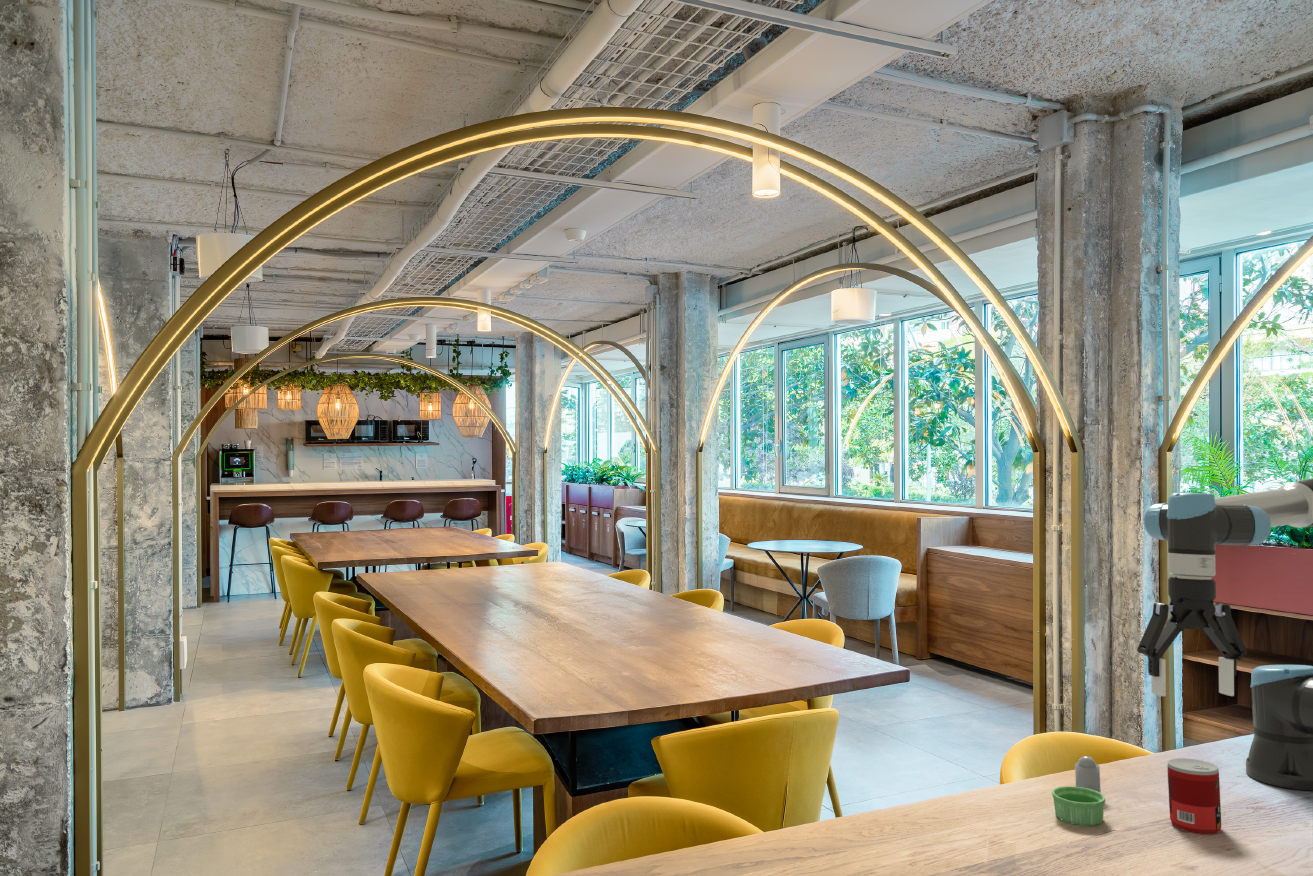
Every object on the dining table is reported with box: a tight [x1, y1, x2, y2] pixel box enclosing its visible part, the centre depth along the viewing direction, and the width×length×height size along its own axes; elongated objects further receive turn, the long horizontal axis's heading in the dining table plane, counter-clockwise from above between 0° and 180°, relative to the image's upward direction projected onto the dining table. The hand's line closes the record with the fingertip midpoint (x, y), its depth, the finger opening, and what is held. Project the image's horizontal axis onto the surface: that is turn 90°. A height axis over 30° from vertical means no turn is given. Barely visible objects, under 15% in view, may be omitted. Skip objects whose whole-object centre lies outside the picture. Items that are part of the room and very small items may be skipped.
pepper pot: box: [1074, 755, 1102, 794], centre depth 176 cm, size 4×4×8 cm
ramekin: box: [1051, 785, 1106, 827], centre depth 165 cm, size 9×9×4 cm
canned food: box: [1166, 757, 1222, 835], centre depth 160 cm, size 8×8×11 cm
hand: (1192, 694), depth 162 cm, fingers open, 13 cm apart
